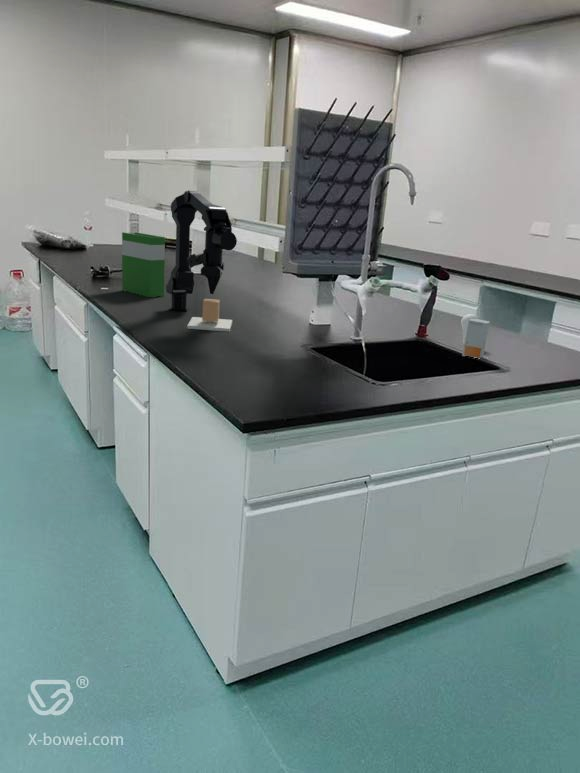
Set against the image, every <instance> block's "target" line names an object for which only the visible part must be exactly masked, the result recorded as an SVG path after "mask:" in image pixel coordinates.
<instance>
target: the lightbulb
mask: <svg viewBox="0 0 580 773" xmlns="http://www.w3.org/2000/svg"><path fill="white" fill-rule="evenodd" d="M470 319H478V320H480V319H479V318H478V316H477V315H475V314H473V313H468V314H465V315H464V316H463V317H462V318H461V321H460V327H461V328H462V337H463V338H462V344H464V343H465V338H466V333H467V328H468V323H469V320H470Z"/></svg>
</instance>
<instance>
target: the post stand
mask: <svg viewBox="0 0 580 773" xmlns="http://www.w3.org/2000/svg"><path fill="white" fill-rule="evenodd" d="M232 325H233V319H224V318H219V320H218V322H212V321H202V317H199V316H192V317H191V319H190V320H189V322H188V324H187V326H186V329H188V330H189V329H190V330H202V331H213V332H214V331H217V332H229V333H231V329H232Z"/></svg>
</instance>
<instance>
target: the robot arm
mask: <svg viewBox="0 0 580 773" xmlns="http://www.w3.org/2000/svg"><path fill="white" fill-rule="evenodd" d="M170 211H171V218H172V220H173V222H174V223H175V226H176V229H175V234H176V235H175V265H174V267H173V269H172V270H171V272H170V278H169V280H168V282H167V284H166V286H165V290H166V291H165V292H166V293H167V294H169V295H171V298H170V299H171V301H170V302H171V303H170V304H171V305H170V307H169V308H168V310H169V311H177V312H187V311H188V309H189V306H188V302H187V301H188V295H192V294H193V292H194V287H195V280H194V277H195V274H194V271H192V270H191V268H194V267H196V266H197V267H198V266H199V265H202V267H201V268H200V275H201V276H205V277H204V278H206V280H207V283H208V289H209V294H210V295H214V294H215V291H216V289H217V286H218V284H219V281H220V279H221V277H222V275H223V272H222V271H225V263H224V262H223V253H224V251H225V250H226V251H232V250H233V249H235V247H236V245H237V242H238V239H237V237H236V235H235V234H234V232H233V231H232V230H233V229H232V221H231V220H230V217H229V213H228V211H227V209H226V208H225V207H223V206H221V205H216V204H213V203H212V202H211V201H209V200H208V199H207V198H206V197H205V196H203V195H202V193H201V191H197V190H189V189H188V190H186V191H184V192H183V193H182V194H181V195H178V196H176V197H175V198H174V199H173V200H172V202H171V203H170ZM197 212H198V213H199V214H201V219H202V221H203V223H204V224H205V227H204V228H203V231H205V242H204V249H203V252H201V253H198V254H196V253H193V254H190V238H191V236H190V235H191V233H190V232H191V225H192V223H193V222H194V220H195V218H196V213H197Z"/></svg>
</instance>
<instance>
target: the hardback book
mask: <svg viewBox="0 0 580 773" xmlns="http://www.w3.org/2000/svg"><path fill="white" fill-rule="evenodd" d="M121 248H122V249H121V256H122V258H121V262H122V263H121V266H122V267H121V268H122V270H121V273H122V274H121V278H122V279H121V280H122V281H121V282H122V283H121V285H122V286H121V291H122V290H125V291H124V292H126V291H129V292H132V293H131V294H133V293H136V294H135V295H137V294H139V295H138V296H141V295H143V296H142V297H145V296H146V297H145V298H149V297H152V298H158V297H157V296H161V297H164V296H165V262H166V261H165V260H166V259H165V255H166V254H165V252H166V250H165V249H166V237H165V236H161V235H155V234H154V235H153V234H149V233H147V234H146V233H143V232H137V231H136V232H134V233H129V232H121ZM129 292H128V293H129Z"/></svg>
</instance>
